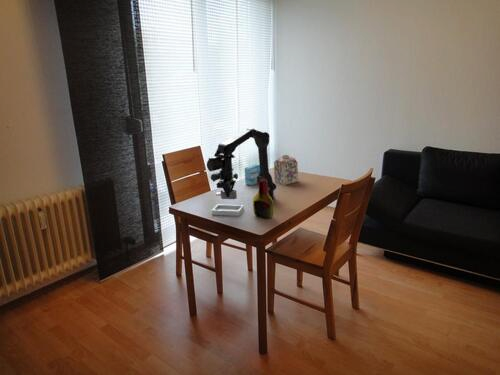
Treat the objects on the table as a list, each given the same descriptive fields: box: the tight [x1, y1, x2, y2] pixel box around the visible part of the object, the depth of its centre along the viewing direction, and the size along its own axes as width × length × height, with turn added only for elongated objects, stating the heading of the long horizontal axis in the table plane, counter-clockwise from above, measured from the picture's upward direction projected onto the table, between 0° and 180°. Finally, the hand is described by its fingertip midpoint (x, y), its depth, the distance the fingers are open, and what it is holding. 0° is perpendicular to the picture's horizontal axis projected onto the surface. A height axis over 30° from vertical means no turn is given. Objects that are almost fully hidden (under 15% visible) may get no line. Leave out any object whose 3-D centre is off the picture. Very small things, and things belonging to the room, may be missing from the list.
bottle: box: [252, 179, 275, 219], centre depth 180 cm, size 12×6×20 cm, turn 50°
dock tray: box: [211, 204, 245, 217], centre depth 192 cm, size 15×9×2 cm, turn 76°
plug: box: [215, 189, 238, 200], centre depth 189 cm, size 11×4×4 cm, turn 76°
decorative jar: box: [273, 154, 299, 186], centre depth 237 cm, size 12×12×18 cm
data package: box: [244, 163, 260, 186], centre depth 239 cm, size 12×4×12 cm, turn 134°
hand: (228, 195), depth 189 cm, fingers closed on plug, 4 cm apart
